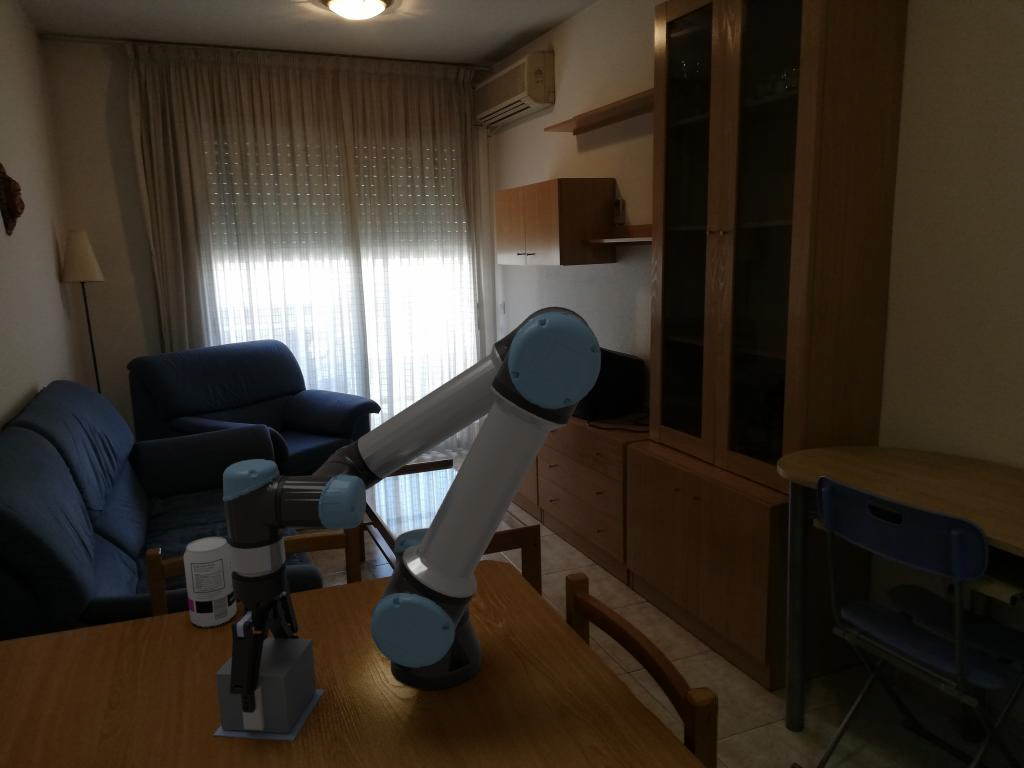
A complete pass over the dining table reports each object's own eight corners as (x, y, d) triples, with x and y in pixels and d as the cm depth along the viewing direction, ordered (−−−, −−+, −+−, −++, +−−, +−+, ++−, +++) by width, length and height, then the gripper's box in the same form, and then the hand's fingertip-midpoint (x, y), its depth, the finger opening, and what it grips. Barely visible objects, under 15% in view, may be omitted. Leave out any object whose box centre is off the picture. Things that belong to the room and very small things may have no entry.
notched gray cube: (316, 691, 115) (312, 639, 113) (289, 733, 105) (284, 677, 103) (254, 687, 116) (249, 636, 114) (221, 729, 106) (215, 673, 104)
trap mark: (324, 690, 116) (324, 689, 116) (293, 740, 104) (293, 739, 104) (252, 687, 117) (252, 686, 117) (213, 736, 105) (213, 734, 105)
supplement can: (181, 624, 138) (172, 548, 135) (215, 604, 145) (208, 533, 142) (212, 632, 134) (204, 555, 132) (246, 612, 142) (239, 539, 139)
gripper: (268, 535, 118) (279, 661, 122) (191, 602, 96) (208, 754, 100) (313, 536, 117) (323, 663, 121) (245, 604, 95) (260, 757, 99)
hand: (271, 704), depth 110 cm, fingers closed on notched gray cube, 10 cm apart
